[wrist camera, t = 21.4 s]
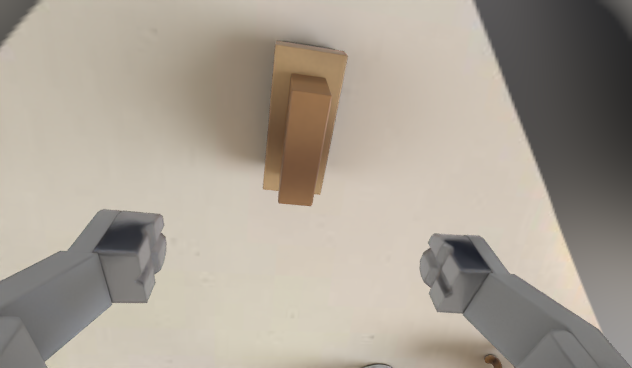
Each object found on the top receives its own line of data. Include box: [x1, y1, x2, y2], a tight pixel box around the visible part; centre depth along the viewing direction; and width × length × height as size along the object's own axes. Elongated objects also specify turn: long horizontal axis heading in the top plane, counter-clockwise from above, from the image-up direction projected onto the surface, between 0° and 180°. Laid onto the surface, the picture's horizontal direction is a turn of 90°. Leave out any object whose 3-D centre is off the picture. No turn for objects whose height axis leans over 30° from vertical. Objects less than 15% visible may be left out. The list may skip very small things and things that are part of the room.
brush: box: [263, 41, 348, 206], centre depth 18 cm, size 8×4×6 cm, turn 171°
